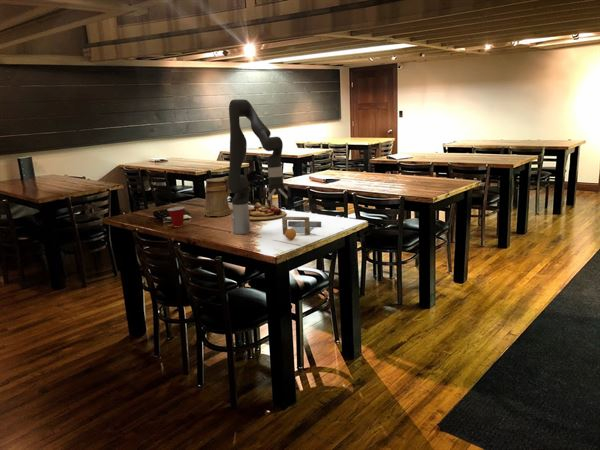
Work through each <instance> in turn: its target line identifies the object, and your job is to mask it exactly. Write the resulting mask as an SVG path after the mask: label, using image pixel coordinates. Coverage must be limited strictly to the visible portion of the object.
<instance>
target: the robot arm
mask: <svg viewBox="0 0 600 450" xmlns="http://www.w3.org/2000/svg"><path fill="white" fill-rule="evenodd" d="M228 105H229V106H228V117H229V131H230V132H229V135H230V137H229V168H228V169H229V170H228V187H229V190H230V192H231V193H233V194H234V196H233V198H232V199H231V205H232V217H231V223H232V224H231V225H232V234H235V235H247V234H250V233H251V221H250V219H249V209H250V207H249V198H250V183H249V180H248V178H247V176H246V175H244V174H241V170H242V169H241V168H242V165H243V163H244V160H245V159H246V155H247V147H248V145H247V142H248V141H247V139H246V137H245V135H244V132H243V131H242V129H241V124H240V118H242V117H243V118H246V119H248V120H249V122H250V129H251V130H252V132H253V134H254V135H255V136H256V138H258V139H259V141H260V144H261V147H262V149H263V150H265V151H266V152H272V154H271V155H269V156H268V157H267V175H268V176H267V177H268V185H269V187H263V199H264V200H266V201H267V204H268V206H270V207H271V204H272V203H271V199H272V197H273V196H281V195H282V196H283V197H284V199H285V200H284V201H285V206H288V204H289V198H291V197H292V194H291V188H290V185H289V184H288V185H285V184H284V175H283V173H284V172H283V168H282V155H283V154H282V152H283V147H284V146H283V145H284V144H283V140H282V139H281V137H280V136H271V134H272V133H271V130H270V129H269V128H268V126H267V125H265V124H264V122H263V121H262V120H261V119H260V117H259V115H258V114H257V112H256V110H255V109H254V107H253V106H252V103H250V102H249V101H248V100H247V99H244V98H243V99H238V98H236V99H231V100H230V102H229V104H228ZM284 190H286V191H287V194H286V193H285V192H284ZM268 191H269V192H270V193H269V195H268V196H267V192H268Z"/></svg>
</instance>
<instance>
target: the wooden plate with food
mask: <svg viewBox="0 0 600 450" xmlns="http://www.w3.org/2000/svg"><path fill="white" fill-rule="evenodd" d="M253 206H254V207H253V208H249V219H250V222H258V223H259V222H270V221H275V220H280V219H281V220H282V217H287V212H286V211H284V210H282V208H281V207H280V208H279V207H277V206H276V205H273V204H272V203H271V207H270V206H268V203H266V204H265V205H264V206H262V204H261V203H260V202H256V203H255V204H254V205H253Z"/></svg>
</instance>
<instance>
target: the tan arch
mask: <svg viewBox="0 0 600 450" xmlns="http://www.w3.org/2000/svg"><path fill="white" fill-rule="evenodd" d="M288 221H305V233H304V235H305V236H310V234H311V232H310V222H309V221H310V217H309V216H285V217H282V218H281V223H282V235H284V236H285V232H286V230H287V229H289V227H288Z"/></svg>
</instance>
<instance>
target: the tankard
mask: <svg viewBox="0 0 600 450" xmlns="http://www.w3.org/2000/svg"><path fill="white" fill-rule="evenodd" d="M228 176H229V175H228ZM228 176H227V175H225V176H223V177H218V178H217V177H216V178H207V179H206V180H205V184H206V185H205V188H204V189H205V190H204V191H205V204H204V205H205V206H204V209H203V216H205V215H206V216H205V217H210V216H217V217H225V215H226V216H229V215H231V214H232V212H231V208H230V206H229V200H228V199H229V196H230V192H231V191H230V190H229V187H228ZM228 214H229V215H228Z"/></svg>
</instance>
